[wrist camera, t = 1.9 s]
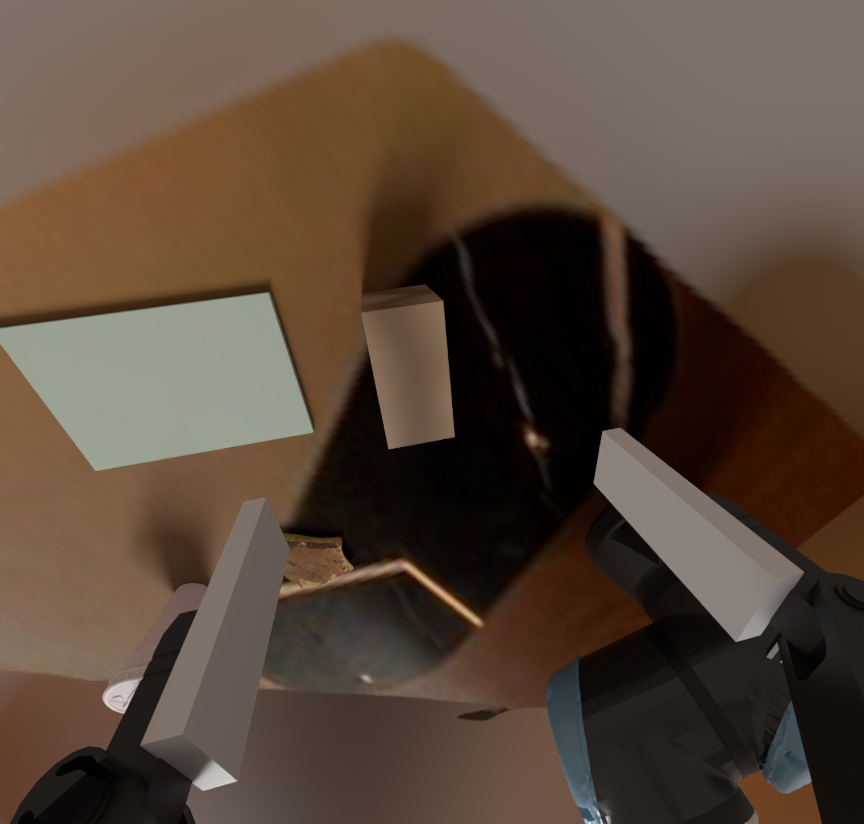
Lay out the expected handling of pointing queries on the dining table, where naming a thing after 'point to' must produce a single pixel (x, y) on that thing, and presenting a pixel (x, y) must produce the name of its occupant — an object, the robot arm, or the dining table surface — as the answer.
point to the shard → (314, 560)
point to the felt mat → (165, 378)
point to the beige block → (409, 363)
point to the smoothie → (150, 646)
